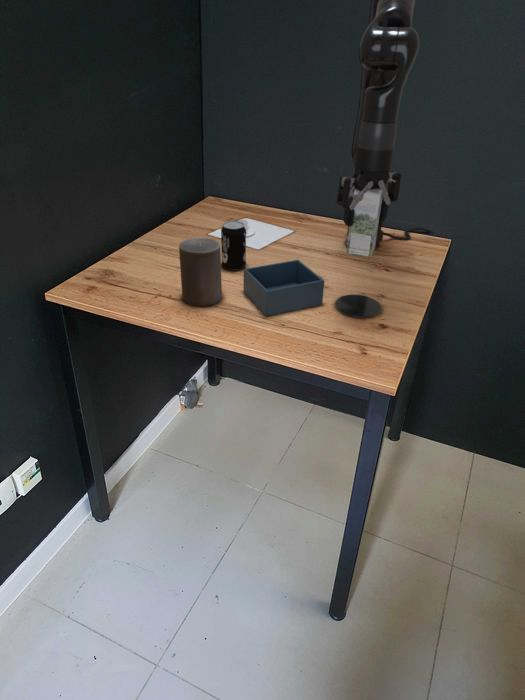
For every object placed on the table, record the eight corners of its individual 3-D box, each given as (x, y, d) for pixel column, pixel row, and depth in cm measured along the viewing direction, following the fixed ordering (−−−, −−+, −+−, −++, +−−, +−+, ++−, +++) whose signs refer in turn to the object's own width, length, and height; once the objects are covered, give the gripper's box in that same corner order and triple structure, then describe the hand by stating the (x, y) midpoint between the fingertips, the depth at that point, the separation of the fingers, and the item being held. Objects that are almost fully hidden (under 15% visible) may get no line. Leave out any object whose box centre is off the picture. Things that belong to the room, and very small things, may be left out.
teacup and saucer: (241, 226, 165) (241, 214, 163) (261, 232, 161) (261, 219, 159) (224, 234, 159) (224, 221, 157) (244, 240, 155) (244, 227, 153)
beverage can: (242, 272, 136) (242, 229, 129) (219, 269, 137) (218, 227, 130) (248, 262, 141) (248, 221, 135) (225, 260, 142) (224, 219, 136)
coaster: (363, 293, 127) (364, 291, 127) (390, 313, 119) (390, 311, 119) (326, 301, 123) (326, 299, 123) (351, 322, 115) (351, 320, 115)
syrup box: (375, 249, 115) (385, 185, 107) (370, 259, 111) (380, 193, 102) (350, 245, 117) (358, 182, 109) (345, 255, 112) (353, 189, 104)
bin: (296, 282, 132) (298, 259, 128) (322, 304, 122) (324, 280, 118) (243, 292, 126) (243, 268, 123) (265, 316, 116) (266, 291, 113)
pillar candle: (189, 309, 118) (185, 249, 110) (177, 291, 126) (173, 234, 117) (227, 302, 121) (226, 244, 113) (214, 285, 129) (212, 229, 120)
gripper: (355, 151, 95) (345, 233, 104) (415, 146, 100) (401, 224, 109) (335, 143, 101) (327, 221, 110) (393, 138, 106) (381, 214, 115)
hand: (364, 223), depth 110 cm, fingers closed on syrup box, 8 cm apart
